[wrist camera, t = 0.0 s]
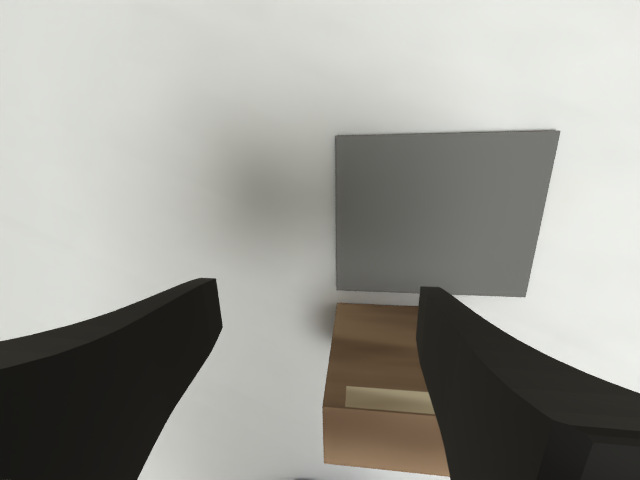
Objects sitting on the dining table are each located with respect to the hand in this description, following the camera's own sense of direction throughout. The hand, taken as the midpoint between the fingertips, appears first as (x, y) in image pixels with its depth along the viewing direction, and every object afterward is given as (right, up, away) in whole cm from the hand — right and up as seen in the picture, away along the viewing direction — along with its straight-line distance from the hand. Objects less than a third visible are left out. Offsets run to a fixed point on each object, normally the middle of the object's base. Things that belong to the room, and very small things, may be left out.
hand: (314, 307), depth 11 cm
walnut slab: (+5, -4, +12) cm, 13 cm away
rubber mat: (+7, +4, +9) cm, 12 cm away
